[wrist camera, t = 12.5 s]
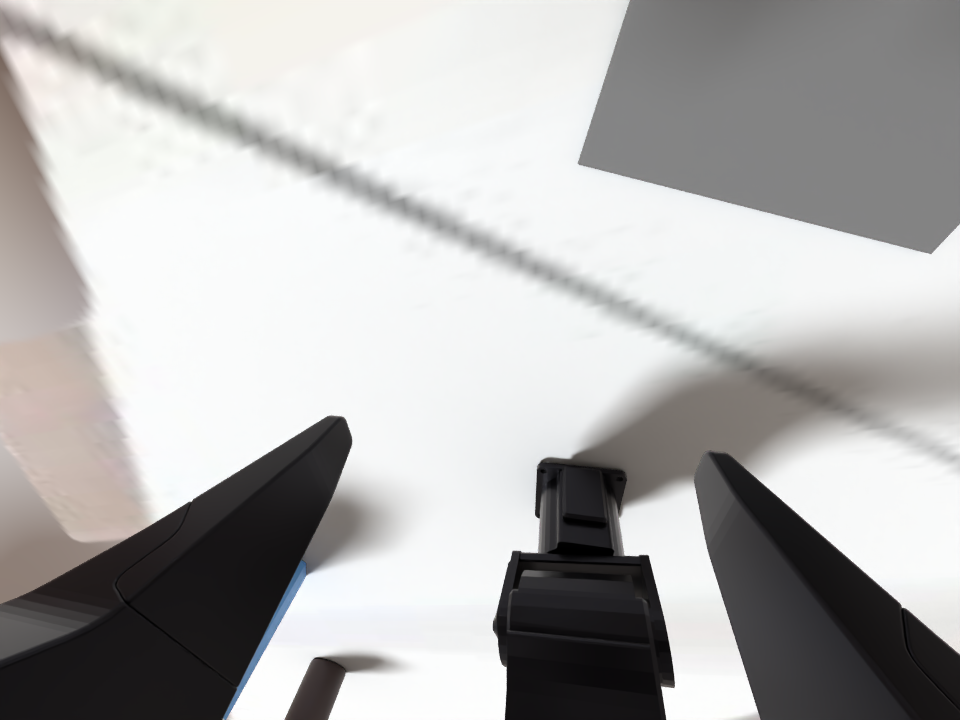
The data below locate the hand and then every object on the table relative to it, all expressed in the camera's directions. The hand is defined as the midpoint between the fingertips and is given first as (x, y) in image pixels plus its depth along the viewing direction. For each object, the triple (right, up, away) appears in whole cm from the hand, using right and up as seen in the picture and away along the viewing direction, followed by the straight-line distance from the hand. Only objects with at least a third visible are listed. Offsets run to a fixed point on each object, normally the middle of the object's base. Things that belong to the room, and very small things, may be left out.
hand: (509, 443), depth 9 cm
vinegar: (-29, -55, +59) cm, 85 cm away
